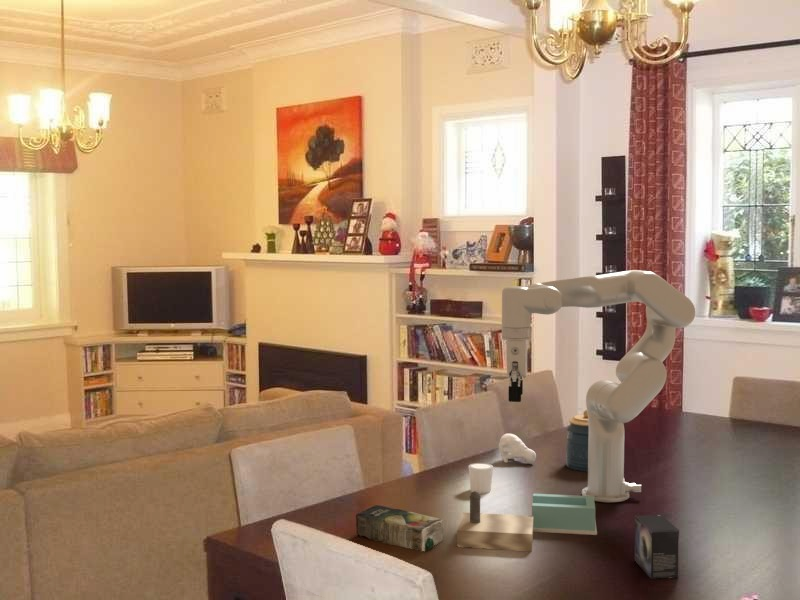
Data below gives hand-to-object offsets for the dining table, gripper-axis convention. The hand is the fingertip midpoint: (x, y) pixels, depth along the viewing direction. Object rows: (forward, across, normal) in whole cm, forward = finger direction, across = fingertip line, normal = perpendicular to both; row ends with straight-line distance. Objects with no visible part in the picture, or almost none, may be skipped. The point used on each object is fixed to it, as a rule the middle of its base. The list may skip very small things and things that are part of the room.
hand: (515, 398), depth 240 cm
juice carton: (+29, -32, +26) cm, 50 cm away
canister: (+28, +40, -20) cm, 53 cm away
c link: (+28, -16, -14) cm, 35 cm away
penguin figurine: (+29, +42, +1) cm, 51 cm away
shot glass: (+28, +10, +10) cm, 32 cm away
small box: (+29, -42, -32) cm, 60 cm away
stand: (+28, -29, +3) cm, 41 cm away
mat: (+28, -16, -13) cm, 35 cm away
